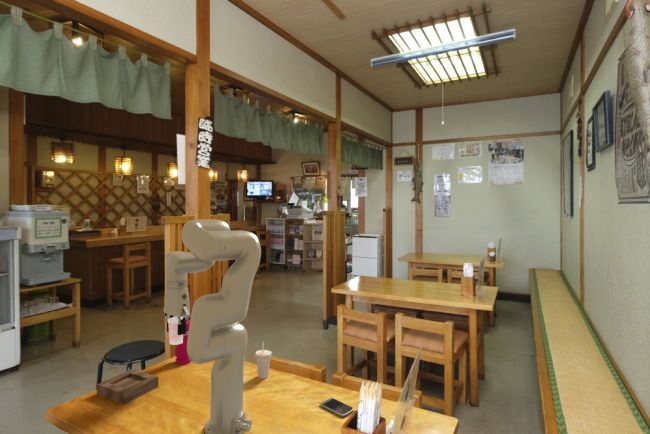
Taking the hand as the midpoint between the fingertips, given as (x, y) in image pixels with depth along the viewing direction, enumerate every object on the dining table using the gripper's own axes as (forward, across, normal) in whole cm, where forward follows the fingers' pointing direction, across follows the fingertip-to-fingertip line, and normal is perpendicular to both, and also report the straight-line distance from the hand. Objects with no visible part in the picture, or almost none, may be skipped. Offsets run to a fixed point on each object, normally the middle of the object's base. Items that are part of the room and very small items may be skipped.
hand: (176, 332), depth 142 cm
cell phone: (+21, -57, -22) cm, 65 cm away
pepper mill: (+19, +16, -14) cm, 28 cm away
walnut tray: (+20, +9, +13) cm, 26 cm away
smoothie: (+20, -21, -24) cm, 38 cm away
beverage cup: (+4, 0, 0) cm, 4 cm away
